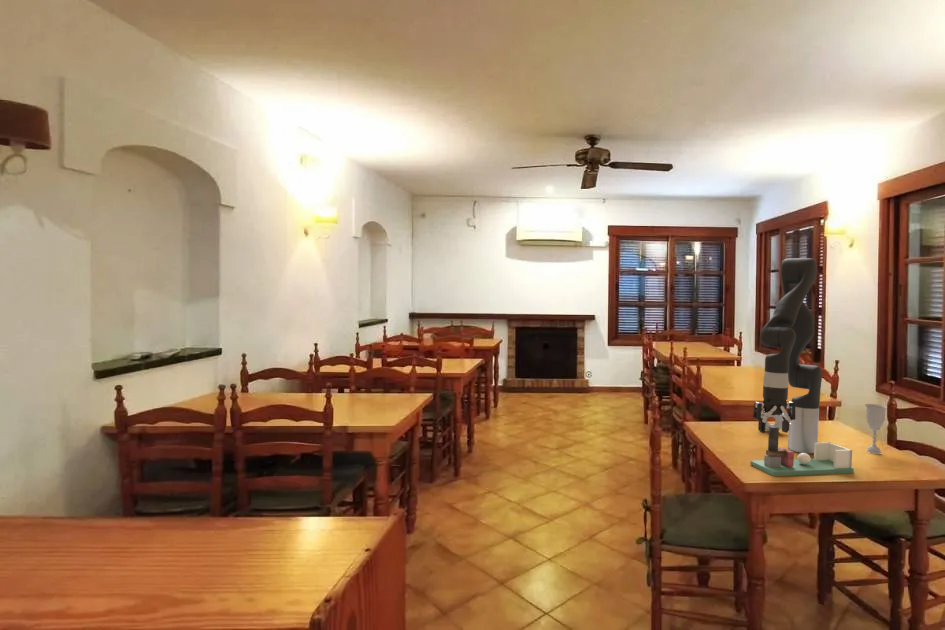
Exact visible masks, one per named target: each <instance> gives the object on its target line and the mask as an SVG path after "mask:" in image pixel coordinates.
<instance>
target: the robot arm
mask: <svg viewBox="0 0 945 630" xmlns="http://www.w3.org/2000/svg"><path fill="white" fill-rule="evenodd" d="M817 275H818V264H817V262H816V260H815V259H814V258H811V257H810V258H809V257H800V258H798V257H797V258H795V257H793V258H785V259H783V260H782V261H781V264H780V279H781V285H782V293H783V296H782V297H781V299H779V300H778V302H777V304H776V306H775V309H774V312H773V315H772V317H771V318H770V319H769V320H768V321H767V322H766V324H765V325H764V326H763V328H762V329H761V330H760V334H759V340H760V343H761V344H762V345H763V346H764V347H767V348H779V349H780V348H781V349H780V351H779V352H778V353H769V354H767V355H766V356H765V357H764V374H763V379H762V381H763V382H762V399H763V401H762V402H758V401H754V403H753V414H752V419H753V420H756V421H757V422H758V427H757V429H758V432H760V433H761V434H765V433H766V430H765V428H766V423H765V421H766V420H767V421H768V419H767V418H771V417H770V416H771V415H780V416H781V418H782V419H783V420H784V421H782V428H781V432H783V433H786V434H787V433H788V437H787V438H788V439H787V448H789V450H790V451H793V452H794V453H795V452H796V453H799V454H800V453H807V454H808V455H811V454H813V455H814V444H815V443H819V441H818V440H819V439H818V438H819V418H820V416H819V415H820V403H821V402H820V399H821V391H822V390H821V388H822V380H823V371H822V368H821V367H820V366H818V365H812V364H805V363H804V364H803V363H800V358H801V354H802V353H803V351H804V349H805V348H806V346H807V345H808V344H809V343H810V341H811V340H812V338H814V335H815V320H814V319H815V318H814V315H813V312H812V311H811V310H810V308H809V307H808V306H807V304H806V303H805V302H804V300H805V298H806V296H807V294H808V293H809V292H810V290H811V288H812V286H813V284H814V283H815V280H816V278H817ZM796 284H797V285H796ZM789 385H790V387H792V388H798V389H802V390H803V389H805V390H808V391H807V392H808V393H806V394H804V395H799V396H795V397H794V396H793V397H792V398H791V401H787V400H788V399H789ZM786 409H787V410H786ZM766 412H767V413H766Z"/></svg>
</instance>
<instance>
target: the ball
mask: <svg viewBox="0 0 945 630" xmlns="http://www.w3.org/2000/svg"><path fill="white" fill-rule="evenodd" d="M796 459H798V461H799V463H801V464H803V465H807V464H809V463H810V461H811V456H810V454H807V453H800V452H799V454H798V455H797V458H796Z"/></svg>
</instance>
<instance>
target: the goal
mask: <svg viewBox="0 0 945 630" xmlns="http://www.w3.org/2000/svg"><path fill="white" fill-rule="evenodd" d="M813 458H814V460H831V461H833V462H834V468H853V467H852V466H853V465H852V464H853V450H852V449H850V448H847V447H844V446H841V445H838V444H836V443H833V442H830V441H829V442H827V441H826V442H825V441H824V442H823V441H822V442H818V443H815V444H814V454H813Z"/></svg>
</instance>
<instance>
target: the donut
mask: <svg viewBox="0 0 945 630" xmlns="http://www.w3.org/2000/svg"><path fill="white" fill-rule="evenodd" d="M766 413H767V412H766ZM769 418H774V419H775V422H774V423H770V422H768V418H767V420H766V421H765V423H766V428H765V431H767V432H769V426H775V427H779V431H780V430H782V421H784V420H783V419H782V418H781V416H780V415H771V416H770V417H769Z"/></svg>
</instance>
